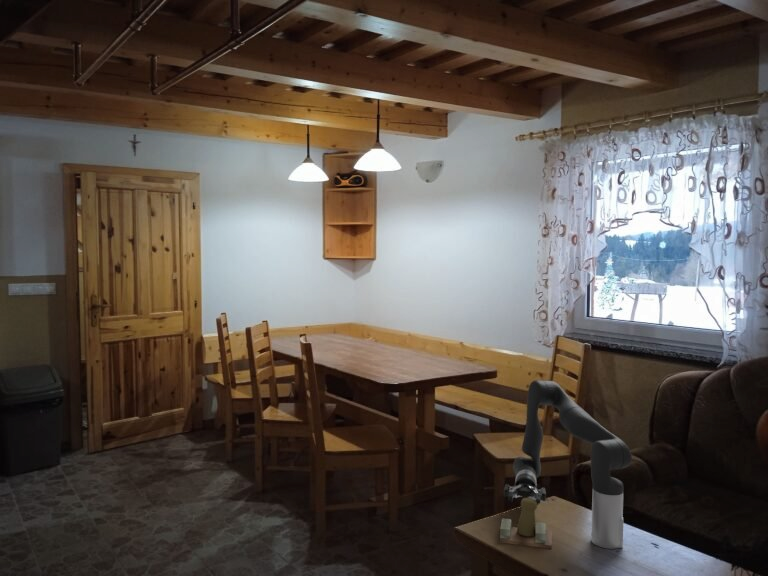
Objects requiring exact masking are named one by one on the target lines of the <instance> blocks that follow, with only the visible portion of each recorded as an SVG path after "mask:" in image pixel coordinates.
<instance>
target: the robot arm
mask: <svg viewBox="0 0 768 576" xmlns="http://www.w3.org/2000/svg"><path fill="white" fill-rule="evenodd" d="M526 403H527V404H526V421H525V422H526V423H525V431H524V437H523V440H522V445H521V451H522V453H524V455H526V456H528V457H530V458H528V457H524V456H518V457H516V458H515V459H514V460H513V463H512V469H513V473H514V475H515V480H514V481H515V482H514V485H513V486H511V485H510V484H509V483H506V484H505V486H504V488H503V497H504V498H507V497H508V501H510V503H513V500H514V498H515V499H517V498H520V497H521V498H531V499H534V500H535V501H536V502H537V506H538V505H539V504H541V501H543V502H546V500H547V497H546V495H547V492H546V488H545V487H541V488H540V489H538V488H537V479H538V478H539V477H540V475H541V473H542V472H541V471H542V467H541V450H542V445H543V440H544V432H543V428H542V424H541V422H540V419H539V409H540V408H539V407H540V406H552V407H555V409H557V410H558V411H559V412H558V418H559V423H560V424H561V425H562V427H563V428H564V429H565V430H566V431H567V432H568V433H569V434H571V436H572V437H574V438H577V439H579V440H580V441H583V442H586V443H588V444H590V445H591V448H590V476H591V477H590V478H591V481H592V499H591V500H592V502H591V505H592V506H591V529H590V530H591V531H590V534H591V535H590V536H591V537H590V538H591V540H590V541H591V542H592V543H593V544H594V545H596V546H597V547H600V548H604V549H608V550H609V549H611V550H614V549H623V547H624V544H623V543H624V517H623V516H624V515H623V514H624V511H623V510H624V483H623V482H622V481H621V480H620V479H618V478H616V477H614V476H611V471H612V470H620V469H621V470H622V469H625V468H627V467H629V466H630V465H631V463H632V461H633V460H632V452H631V450H630V448H629V445H627V444H626V442H625V441H624V440H622V439H621V438H620V437H618V436H616V435H615V434H614V433H612V432H610V430H607V429H606V428H605V427H604V426H602V425H601V424H600V423H599V422H598V421H597V420H595V419H594V418H593V417H592V416H591V415H590V414H589V413H588V412H587V411H586V410H584V408H582V407H581V406H580V405H578V404H577V403H576V402H575V401H574V400H573V399H572V398H571V397H570V396H569V395H568V394H567V392H566V391H565V390H564V389H563V388H562V387H561V386H560V385H559V383H558V382H555V381H554V380H540V379H539V380H538V379H537V380H532V382H531V381H530V384H529V387H528V389H527V401H526Z"/></svg>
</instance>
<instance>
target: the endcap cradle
mask: <svg viewBox="0 0 768 576" xmlns="http://www.w3.org/2000/svg"><path fill="white" fill-rule="evenodd" d="M517 528H518V526H517V527H515V526H512V519H510V518H503V517H502V518H501V524H500V531H499V533H500V535H499V537H500V538H499V543H503V544H512V545H518V544H519V545H521V546H528V547H535V548H536V547H537V548H543V549H552V548H553V543H552V541H553V540H552V539H553V538H552V536H553V535H552V531H548V530H546V522H537V521H535V536H524V535H521V534H519V533H517ZM519 545H518V546H519Z"/></svg>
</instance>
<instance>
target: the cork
mask: <svg viewBox="0 0 768 576" xmlns="http://www.w3.org/2000/svg"><path fill="white" fill-rule="evenodd" d="M520 506H521V507H520V508H521V512H520V515H519V519H518V524H517V533H519V534H521V535H524V536H535V530H536V512H535V511H536V510H537V508H538V505H537V502H536V500H534V499H531V498H530V497H528V498H524V497H522V499H521V501H520Z"/></svg>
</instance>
